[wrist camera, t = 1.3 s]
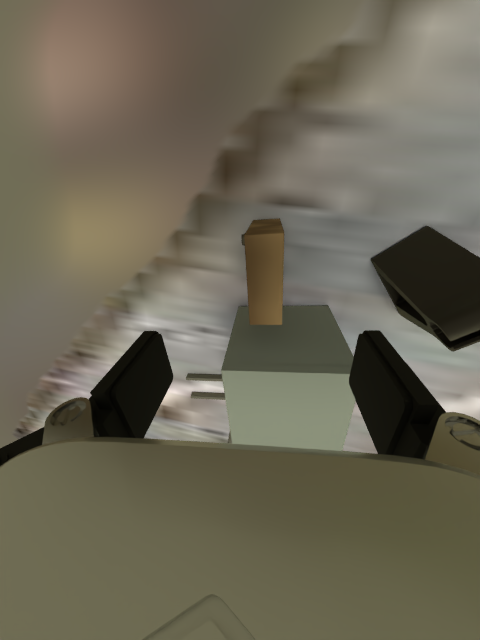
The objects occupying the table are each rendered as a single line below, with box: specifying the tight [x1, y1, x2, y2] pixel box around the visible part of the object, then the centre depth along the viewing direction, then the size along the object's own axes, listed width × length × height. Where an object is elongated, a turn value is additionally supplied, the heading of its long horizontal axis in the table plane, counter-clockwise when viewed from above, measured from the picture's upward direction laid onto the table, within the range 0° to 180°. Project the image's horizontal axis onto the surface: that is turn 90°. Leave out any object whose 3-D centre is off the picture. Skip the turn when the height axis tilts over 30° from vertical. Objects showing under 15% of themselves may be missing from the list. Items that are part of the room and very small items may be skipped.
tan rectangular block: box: [242, 219, 284, 325], centre depth 23 cm, size 4×8×10 cm, turn 4°
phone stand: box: [371, 226, 480, 351], centre depth 22 cm, size 9×6×12 cm, turn 38°
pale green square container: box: [186, 305, 355, 451], centre depth 30 cm, size 22×18×13 cm
